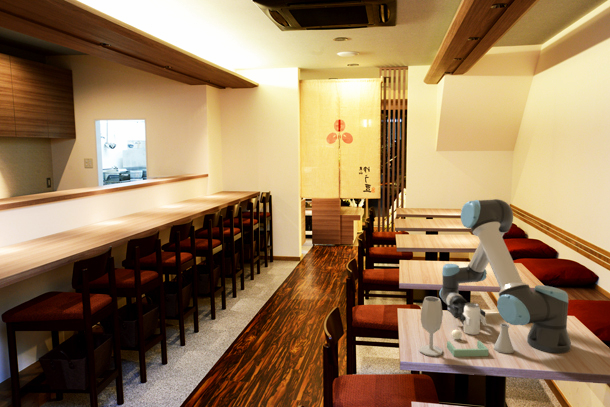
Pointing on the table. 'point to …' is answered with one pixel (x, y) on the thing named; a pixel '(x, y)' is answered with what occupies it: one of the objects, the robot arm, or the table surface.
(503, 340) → the flask
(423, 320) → the wineglass
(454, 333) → the ball
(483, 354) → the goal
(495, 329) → the table surface
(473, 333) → the can
